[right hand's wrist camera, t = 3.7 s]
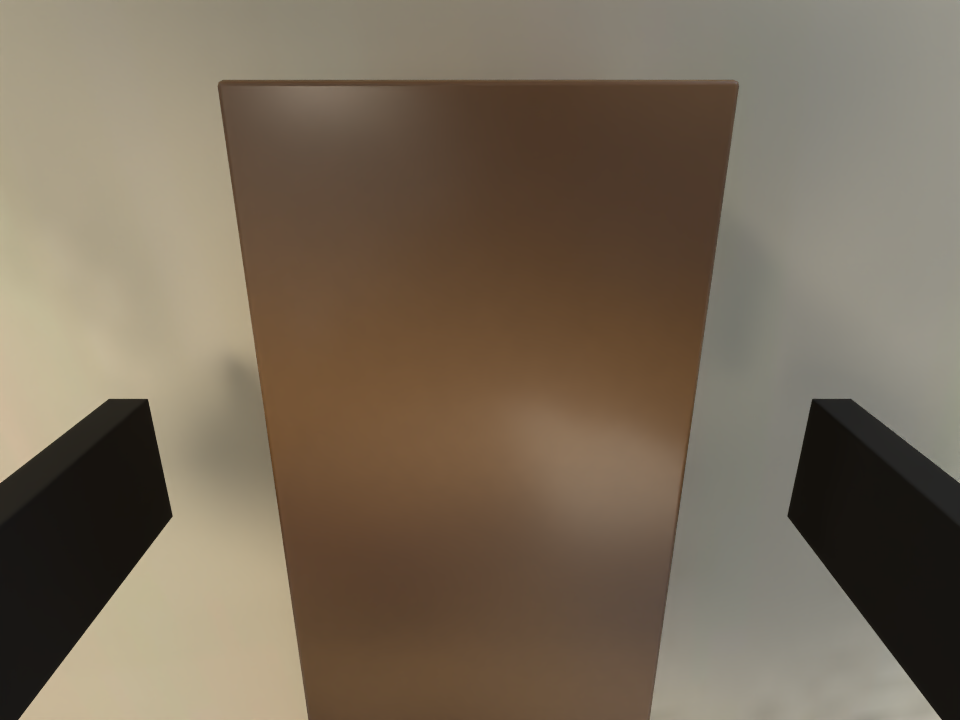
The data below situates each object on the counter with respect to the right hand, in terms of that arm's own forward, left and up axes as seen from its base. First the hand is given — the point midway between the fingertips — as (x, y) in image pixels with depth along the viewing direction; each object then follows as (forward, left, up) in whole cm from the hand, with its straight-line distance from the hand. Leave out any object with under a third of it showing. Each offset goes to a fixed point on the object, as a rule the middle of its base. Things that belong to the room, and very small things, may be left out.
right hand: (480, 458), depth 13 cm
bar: (+14, -16, -4) cm, 22 cm away
